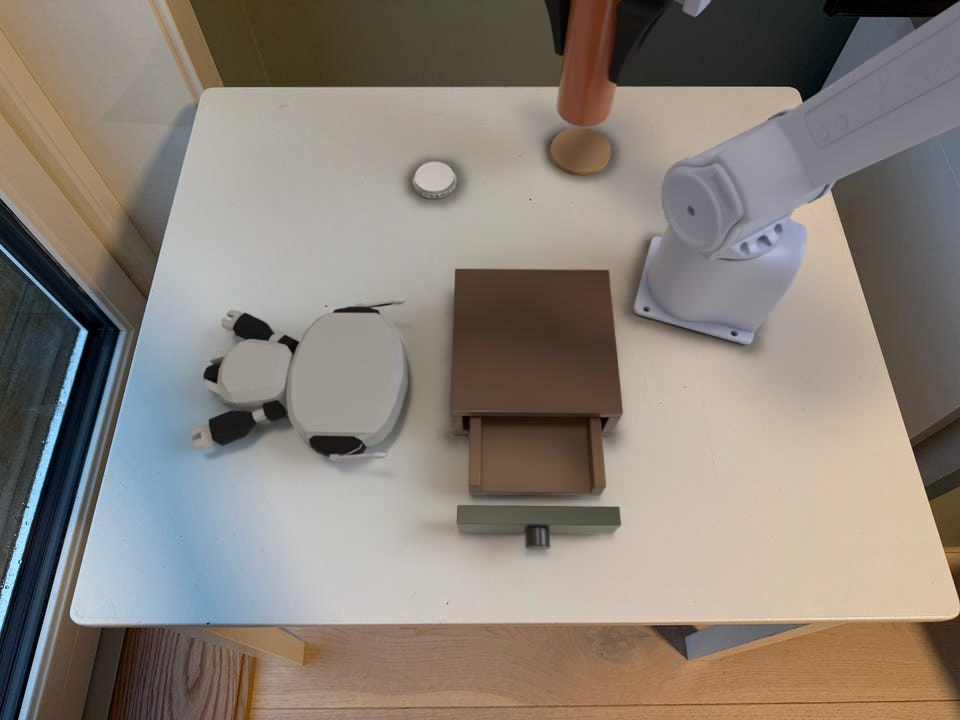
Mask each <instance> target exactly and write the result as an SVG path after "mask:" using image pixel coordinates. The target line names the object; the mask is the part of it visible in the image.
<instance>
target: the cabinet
mask: <svg viewBox="0 0 960 720" xmlns="http://www.w3.org/2000/svg"><path fill="white" fill-rule="evenodd" d="M453 286H454V288H453V289H454V291H453V292H454V293H453V315H452V317H453V321H452V348H451V349H452V350H451V375H450V376H451V378H450V379H451V380H450V407H449V408H450V409H449V413H450V421H451V430H452V434H453V435H456V436H457V435H460V436H461V435H462V436H463V435H464V436H467V435H468V436H470V416H535V417H601V428H602V437H610V436H612V434H613V432H614V430H615V428H616V427H617V425H618V424H619V422H620V420H621V417H622V416H623V414H624V409H623V399H622V397H623V396H622V390H621V389H622V388H621V377H620V369H619V368H620V367H619V357H618V348H617V347H618V346H617V337H616V329H615V317H614V307H613V299H612V298H613V297H612V288H611V278H610V270H609V269H548V268H547V269H546V268H545V269H544V268H543V269H542V268H541V269H540V268H539V269H537V268H455V269H454V285H453Z"/></svg>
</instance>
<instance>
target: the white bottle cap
mask: <svg viewBox="0 0 960 720" xmlns="http://www.w3.org/2000/svg"><path fill="white" fill-rule="evenodd" d="M457 178H458V177H457V172H456V169H455V167H453V166H452V165H451V164H450V163H448V162H445V161H443V160H438V159H432V160H427V161H424V162H422V163H421V164H418V165H417V166H416V167H415V169H414V170H413V172H412V174H411V179H412V180H411V181H412V187H413V188H414V190H415V192H416V193H418V194H419V195H420V196H422V197H424V198H427V199H441V198H444V197H447V196H448V195H450V194H451V193H452V192H453V191H454V190H455V189H456V187H457V184H458V183H457V182H458V179H457Z"/></svg>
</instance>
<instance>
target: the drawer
mask: <svg viewBox="0 0 960 720" xmlns="http://www.w3.org/2000/svg"><path fill="white" fill-rule="evenodd" d="M468 436H469V439H468V440H469V441H468V494H469V495H489V496H490V495H492V496H493V495H495V496H497V495H499V496H500V495H501V496H502V495H503V496H588V497H589V496H591V497H592V496H595V497H597V496H598V497H601V495H602V494H603V493H604V491H605V489H606V487H607V479H606V478H607V477H606V466H605V455H604V453H605V452H604V443H603V442H604V441H603V436H602V428H601V417H535V416H470V435H468ZM456 526H457V532H458V533H483V534H484V533H493V534H494V533H495V534H496V533H497V534H500V533H501V534H524V547H525V549H527V550H529V551H530V550H532V551H545V550H549V549H550V548H551V534H583V535H584V534H585V535H586V534H587V535H588V534H589V535H590V534H591V535H592V534H593V535H595V534H597V535H600V534H601V535H612V534H614V533H615V532H616V531H617V530H618V529H619V528H620V527H621V526H622V517H621V507H620V506H594V505H593V506H592V505H591V506H585V505H583V506H581V505H577V506H575V505H495V504H494V505H489V504H488V505H487V504H485V505H484V504H482V505H479V504H458V505H456Z"/></svg>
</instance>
